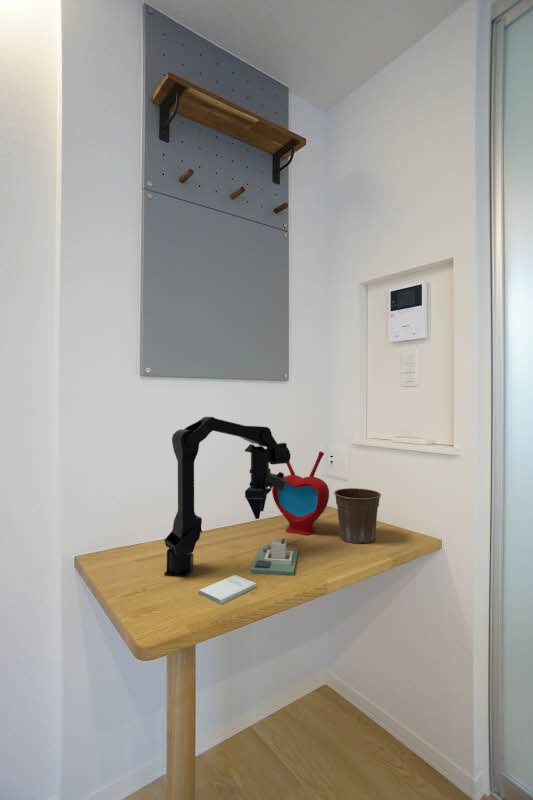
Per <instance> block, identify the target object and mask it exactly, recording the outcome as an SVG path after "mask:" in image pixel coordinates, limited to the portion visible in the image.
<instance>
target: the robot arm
mask: <svg viewBox="0 0 533 800" xmlns="http://www.w3.org/2000/svg"><path fill="white" fill-rule="evenodd" d="M212 432H216V433H220V434H225V435H229V436H235V437H239V438H241V439H243V440H244V441H247V442H249V443H250V444H249V445H248V446H247V447H246V448H245V449H244V452H246V453H250V469H249V474H250V482H249V486H248V488H247V489H245V490H244V498H245V499H246V501H247V502H248V505H249V506H250V507H249V508H250V509H251V511H252V514H253V517H254V518H255V520H259V519H260V516H261V512H264V510H265V505H266V502H267V501H266V500H267V498H268V497H267V496H268V494H269V493H270V492H272V487H275V488H278V490H281V491H282V490H283V489H284V486H285V483H286V481H287V479H286V478H284V476H285V474H284V472H281V471H279V472H278V473H272V472H271V468H270V465H282V464H286V463H288V462H291V461H290V460H291V456H292V455H291V453H290V449H289V448H288V447H287V446H288V444H287V443H286V442H277V440H275V438H274V436H273V434H272V431H271V429H270V427H267V426H261V425H243V424H239V423H236V422H231V421H227V420H223V419H219V418H216V417H214V416H204V417H202V418H200V420H198V421H195V422H194V423H192V424H190V425H188V426H186V427H185V428H184V429H178V430H176V431H175V432H174V434H173V435H172V437H171V444H172V448H173V453H174V455H175V457H176V458H175V459H176V461H177V512H176V513H175V516H174V519H173V525H172V531H171V532H170V533H169V534H168V535H167V536H166V537H165V539H164V544H165V547H167V548H168V549H167V550H166V570H165V572H163V573H164V576H173V577H174V576H176V577H187V576H188V575H189V574H190V573H191V571H193V569H194V549H195V547H196V544H197V542H198V541H199V540H200V538H201V534H202V533H203V530H202V523H203V519H202V517H201V516H198V515H197V514H196V512H195V460H196V458H197V455H198V453H199V448H200V443H201V442H203V441H204V440H205V439H207V437H208V436H209V435H210V434H211V433H212ZM254 444H255V445H258V446H255V445H254Z"/></svg>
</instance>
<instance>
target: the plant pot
mask: <svg viewBox="0 0 533 800" xmlns="http://www.w3.org/2000/svg"><path fill="white" fill-rule="evenodd" d="M333 494H334V495H335V503H336V507H337V517H338V527H339V528H338V529H339V538H340V539H341V540H343V541H344V542H347V543H351V544H357V545H359V544H361V543H364V544H369V543H373V542H374V541H375V540H376V531H377V529H376V528H377V520H378V519H377V518H378V510H379V508H378V507H380V499H381V497H382V493H380V492H379V491H377V490H373V489H367V488H355V487H354V488H353V487H350V488H349V487H347V488H340V489H337V490H334V492H333Z"/></svg>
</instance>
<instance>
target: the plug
mask: <svg viewBox="0 0 533 800" xmlns="http://www.w3.org/2000/svg"><path fill="white" fill-rule="evenodd" d="M270 546H271V559H286V549H287V540H286V538H281V539H272V542H271V545H270Z"/></svg>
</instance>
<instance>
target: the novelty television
mask: <svg viewBox="0 0 533 800" xmlns="http://www.w3.org/2000/svg"><path fill="white" fill-rule="evenodd" d="M324 455H325V453H324V452H323V451H319V452H318V455H317V458H316V460H315V463H314V464H313V467H312V469H311V472H310V474H309V476H305V477H302V476H300V475H297V474H296V473H295V471H294V469H293V466H292V465H291V461H289V462H288V463H285V464H286V466H287V468H288V470H289V473H290V474H289V475H284V478H286V479H287V481H286V483H285V486H284V489H283V490H282V491H281V490H278V488H275V487H272V490H271V493H272V497H273V501H274V502H275V505H276V507H277V509H278V510H279V512H280V513H281V515H283V517H284V518H285V519H286V521H287V522H288V523H289V526H288V527H286V529H285V531H286V532H285V533H290V532H291V534H297V533H298V534H297V535H302V534H303V536H309V535H311V534H312V535H313V534H314V533H316V527H315V526H314V524H315V522H316V521H317V520H318V519H319V518H320V516H321V515H322V514H323V513H324V511H325V510H326V508H327V505H328V503H329V498H330V489H329V486H328V484H327V483H326V482H325V481H324V480H323V479H321V478H318V477H316V476H315V474H316V471H317V469H318V467H319V465H320V462H321V460H322V458H323V456H324Z"/></svg>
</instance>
